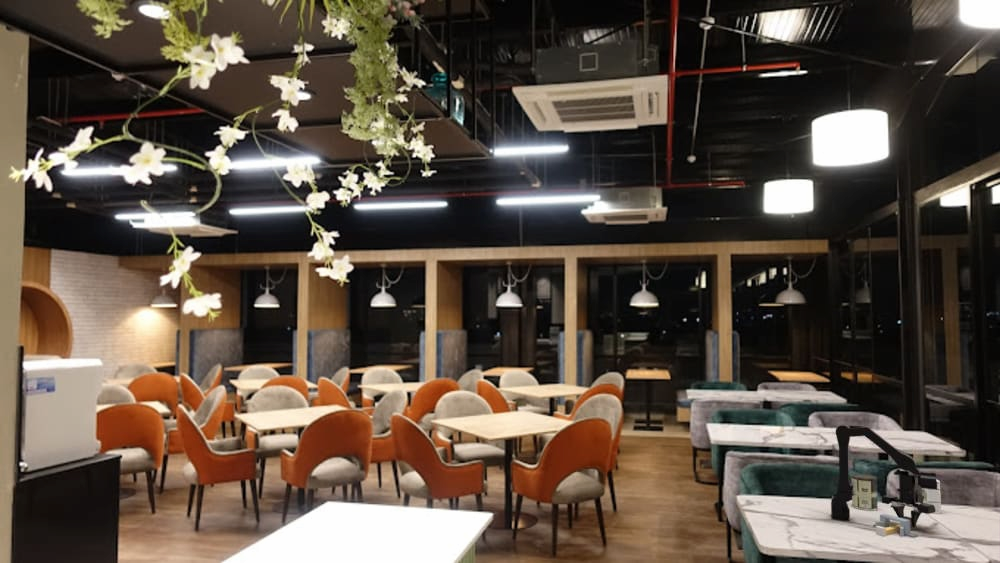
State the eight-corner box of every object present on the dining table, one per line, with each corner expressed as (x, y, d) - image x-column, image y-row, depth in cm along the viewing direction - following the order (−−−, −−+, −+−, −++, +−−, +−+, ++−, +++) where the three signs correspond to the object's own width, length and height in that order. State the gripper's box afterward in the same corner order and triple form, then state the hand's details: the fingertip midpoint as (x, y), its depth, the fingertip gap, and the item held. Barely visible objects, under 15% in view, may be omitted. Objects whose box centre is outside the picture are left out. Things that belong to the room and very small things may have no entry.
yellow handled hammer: (885, 536, 257) (884, 526, 257) (874, 533, 260) (874, 523, 261) (915, 528, 268) (915, 518, 268) (905, 526, 271) (905, 516, 272)
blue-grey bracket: (909, 538, 255) (908, 524, 255) (868, 527, 269) (868, 513, 269) (918, 536, 258) (917, 522, 258) (877, 525, 272) (877, 511, 272)
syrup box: (941, 514, 290) (940, 480, 291) (927, 513, 291) (926, 479, 292) (936, 510, 296) (935, 477, 296) (921, 509, 297) (920, 477, 298)
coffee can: (869, 504, 304) (869, 473, 305) (882, 510, 294) (881, 478, 295) (847, 504, 304) (846, 473, 305) (859, 510, 294) (858, 478, 295)
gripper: (942, 489, 266) (943, 529, 265) (895, 479, 282) (896, 517, 281) (927, 492, 260) (928, 533, 259) (880, 482, 276) (881, 520, 275)
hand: (908, 525), depth 269 cm, fingers closed on yellow handled hammer, 4 cm apart
